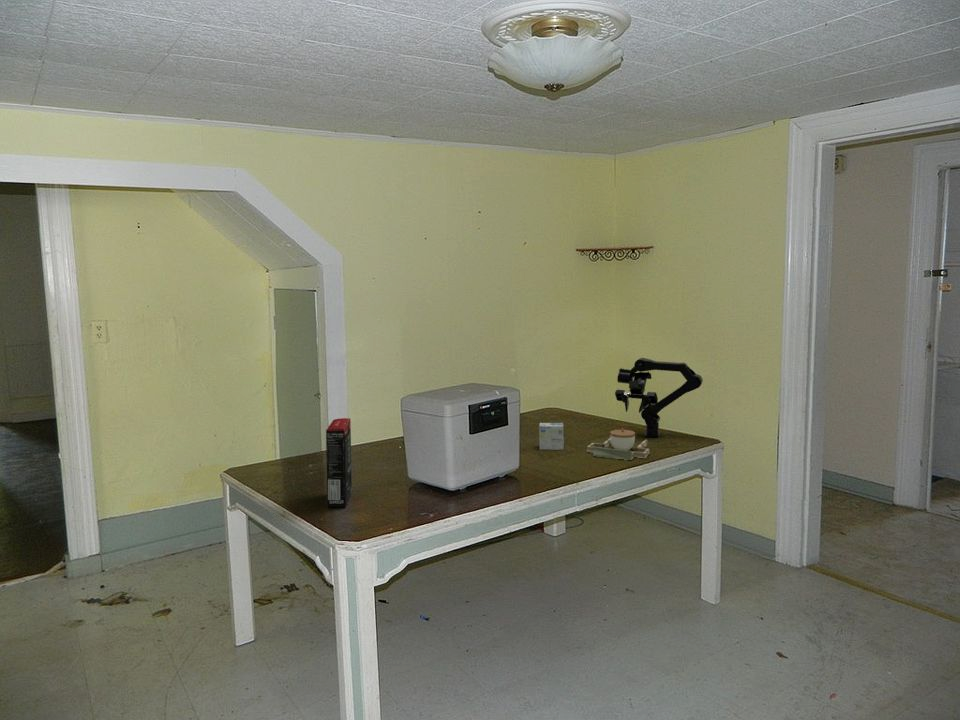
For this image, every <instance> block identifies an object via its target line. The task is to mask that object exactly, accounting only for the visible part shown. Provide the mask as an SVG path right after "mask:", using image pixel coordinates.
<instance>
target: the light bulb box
mask: <svg viewBox="0 0 960 720" xmlns="http://www.w3.org/2000/svg"><path fill="white" fill-rule="evenodd" d="M538 432H539V433H538V435H539V439H538V440H539V450H542V451H543V450H548V451H549V450H551V451H552V450H555V451H556V450H558V451H559V450H562V451H564V446H565V443H564V441H565V439H564V434H565V433H564V432H565V431H564V422H539V430H538Z"/></svg>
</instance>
